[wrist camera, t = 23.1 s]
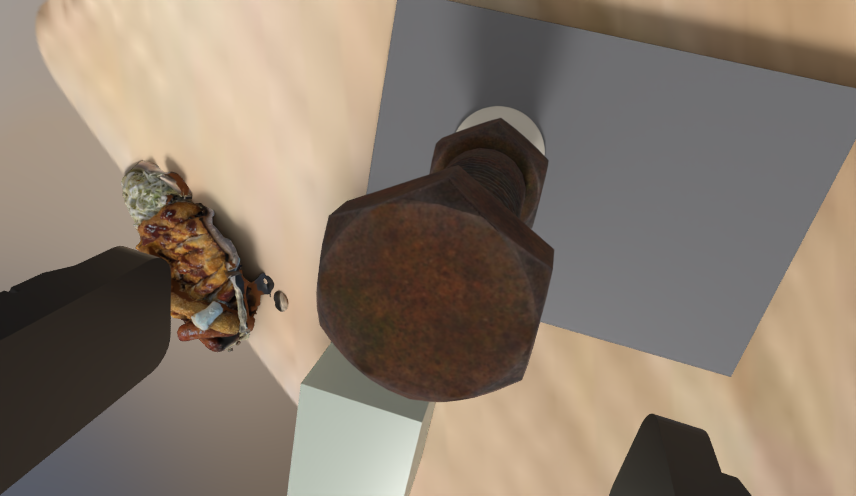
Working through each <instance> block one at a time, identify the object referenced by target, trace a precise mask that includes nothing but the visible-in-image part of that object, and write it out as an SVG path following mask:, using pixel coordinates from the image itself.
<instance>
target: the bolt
mask: <svg viewBox="0 0 856 496" xmlns="http://www.w3.org/2000/svg"><path fill="white" fill-rule="evenodd" d="M548 162H549V160H548V159H547V158H546V157H545V156H544V155H543V154H542V153H541V152H540V151H539V150H538V149H537V148H536V147H535V146H534V145H533V144H532V143H531V142H530V141H529V140H528V139H527V138H526V137H525V136H523V135H522V134H521V133H520V132H519V131H518V130H516V129H515V128H514V127H513V126H511V125H510V124H509V123H508V122H506V121H505V120H504V119H502V118H498V119H494V120H491V121H487V122H484V123H481V124H478V125H475V126H472V127H469V128H466V129H464V130H461V131H458V132H456V133H453V134H451V135H448V136H445V137H443V138H441V139H440V140H439V141H438V142H437V143H436V145H435V149H434V153H433V158H432V162H431V168H430V173H429V175H426V176H422V177H419V178H416V179H413V180H410V181H407V182H404V183H401V184H398V185H395V186H392V187H389V188H386V189H383V190H380V191H376V192H373V193H370V194H367V195H364V196H361V197H358V198H355V199H352V200H349V201H346V202H345V203H344V204H343V205H342V206H340V207H339V208H338V209H337V210H335V211H334V212H333V213H332V214H331V215H329V218H328V222H327V226H326V231H325V235H324V239H323V243H322V250H321V257H320V264H319V273H318V282H317V292H316V293H317V311H318V317H319V323H320V326H321V327H322V329H323V330H324V331H325V333H326V334H327V336H328V337H329V339H330V340H331V341H332V343H333V344H334V346H335V347H336V348H337V349H338V350H339V351H340V353H341V354H342V355H343V356H344V357H345V358H346V359H347V360H348V361H349V362H350V363H351V364H352V365H353V366H354V367H355V368H356V369H357V370H359V371H360V372H361V373H362V374H364V375H365V376H366V377H367V378H369V379H370V380H371V381H373V382H375V383H377V384H378V385H380V386H382V387H383V388H385V389H387V390H389V391H391V392H394V393H396V394H398V395H401V396H403V397H405V398H408V399H411V400H418V401H426V402H448V401H457V400H464V399H469V398H474V397H478V396H481V395H484V394H487V393H491V392H494V391H497V390H499V389H501V388H504V387H506V386H509V385H511V384H513V383H516V382H518V381H520V380H522V379H523V376H524V373H525V371H526V368H527V365H528V362H529V359H530V356H531V352H532V349H533V346H534V342H535V338H536V335H537V331H538V327H539V324H540V320H541V316H542V313H543V309H544V305H545V302H546V298H547V293H548V289H549V284H550V280H551V276H552V271H553V262H554V249H553V248H552V247H551V246H550V245H549V244H548V243H546V242H545V241H544V240H543V239H542V238H541V237H540V236H538V235H537V234H536V233H535V232H534V231H533V230H532V228H533V224H534V220H535V217H536V213H537V209H538V205H539V201H540V197H541V193H542V189H543V185H544V181H545V177H546V173H547V168H548Z"/></svg>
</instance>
